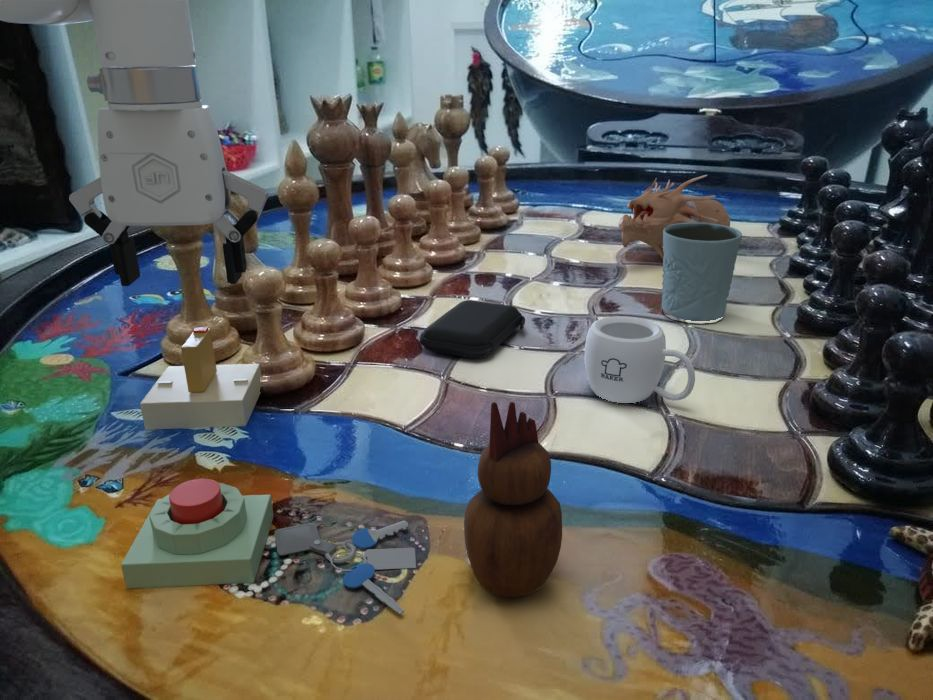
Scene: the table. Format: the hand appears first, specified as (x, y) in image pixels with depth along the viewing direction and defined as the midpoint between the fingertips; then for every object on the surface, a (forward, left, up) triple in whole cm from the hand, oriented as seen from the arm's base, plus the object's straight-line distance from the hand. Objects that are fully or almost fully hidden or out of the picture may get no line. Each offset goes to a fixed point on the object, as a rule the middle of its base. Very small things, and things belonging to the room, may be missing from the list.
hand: (183, 280), depth 69 cm
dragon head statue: (+66, +53, -15) cm, 86 cm away
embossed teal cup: (+60, +27, -15) cm, 68 cm away
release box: (+5, -21, -15) cm, 27 cm away
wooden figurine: (+28, -26, -15) cm, 42 cm away
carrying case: (+29, +20, -15) cm, 38 cm away
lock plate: (-1, +3, -15) cm, 15 cm away
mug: (+45, +2, -15) cm, 48 cm away
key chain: (+17, -22, -15) cm, 32 cm away
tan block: (-1, +3, -12) cm, 12 cm away
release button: (+5, -21, -11) cm, 25 cm away
